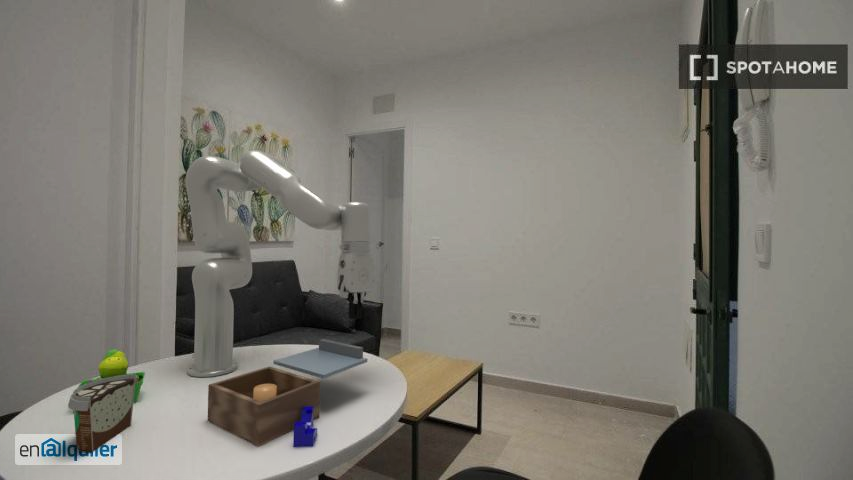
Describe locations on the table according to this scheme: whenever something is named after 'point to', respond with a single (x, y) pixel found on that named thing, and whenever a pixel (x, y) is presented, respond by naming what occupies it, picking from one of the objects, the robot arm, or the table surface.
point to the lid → (324, 359)
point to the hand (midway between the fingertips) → (355, 317)
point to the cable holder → (305, 429)
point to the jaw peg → (264, 392)
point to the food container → (102, 410)
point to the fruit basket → (116, 370)
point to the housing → (261, 404)
